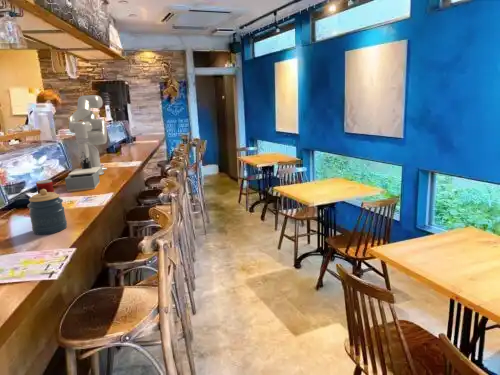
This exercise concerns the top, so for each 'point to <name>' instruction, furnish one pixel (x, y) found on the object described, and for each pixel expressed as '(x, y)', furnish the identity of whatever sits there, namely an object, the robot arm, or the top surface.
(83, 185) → the grey box
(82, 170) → the sliding lid
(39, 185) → the canned food
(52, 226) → the canister
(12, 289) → the top surface
